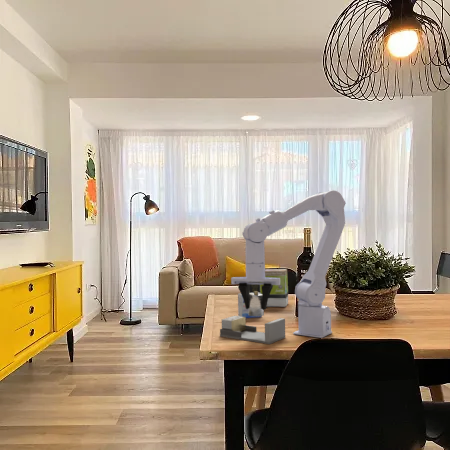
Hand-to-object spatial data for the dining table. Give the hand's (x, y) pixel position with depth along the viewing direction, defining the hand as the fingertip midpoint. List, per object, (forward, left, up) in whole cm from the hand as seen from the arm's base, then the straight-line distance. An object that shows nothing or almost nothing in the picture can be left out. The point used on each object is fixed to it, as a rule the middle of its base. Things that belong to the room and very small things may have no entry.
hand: (256, 308), depth 138 cm
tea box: (+26, -50, -9) cm, 57 cm away
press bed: (+1, 0, -8) cm, 9 cm away
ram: (+8, 0, -8) cm, 12 cm away
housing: (0, 0, -2) cm, 2 cm away
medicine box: (+19, -25, -9) cm, 32 cm away
